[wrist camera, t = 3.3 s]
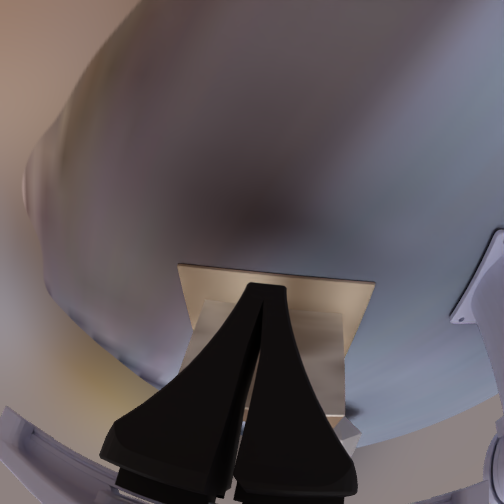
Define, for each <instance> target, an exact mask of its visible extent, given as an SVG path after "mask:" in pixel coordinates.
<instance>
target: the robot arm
mask: <svg viewBox="0 0 504 504" xmlns="http://www.w3.org/2000/svg"><path fill="white" fill-rule="evenodd" d="M450 321H451V323H453V324H472V323H477V325H478V327H479V330H480V333H481V335H482V338H483V341H484V344H485V347H486V350H487V353H488V356H489V359H490V362H491V366H492V369H493V372H494V376H495V379H496V383H497V387H498V391H499V395H500V400H501V404H502V409H503V413H504V230H498V231H497V232H496V233H495V234H494V236H493V238H492V240H491V243H490V245H489V247H488V249H487V251H486V253H485V255H484V258H483V260H482V262H481V264H480V266H479V267H478V269H477V271H476V273H475V275H474V277H473V279H472V281H471V282H470V284H469V286H468V288H467V290H466V291H465V293H464V295H463V296H462V298H461V300H460V302H459V303H458V305H457V306H456V308H455V310H454V311H453V313H452V314H451V316H450ZM259 352H260V356H259ZM258 356H259V362H258V367H257V372H256V377H255V382H254V387H253V392H252V396H251V401H250V406H249V410H248V414H247V419H246V423H245V427H244V432H243V436H242V440H241V444H240V448H239V452H238V456H237V459H236V455H237V449H238V444H239V437H240V433H241V427H242V422H243V416H244V411H245V405H246V400H247V396H248V392H249V389H250V385H251V381H252V378H253V374H254V371H255V367H256V363H257V360H258ZM496 429H497V434H496V435H495V436H494V438H493V439H492V441H491V443H490V445H489V447H488V450H487V453H486V457H485V462H484V469H483V481H482V482H479V483H477V484H474V485H472V486H469V487H466V488H463V489H459V490H456V491H452V492H449V493H446V494H443V495H439V496H436V497H432V498H431V499H427V500H423V501H419V502H415V503H410V504H489V502H490V504H504V415H503V416H502V417H501V418H500V419H499V420H497V421H496ZM99 456H100V458H101V459H104V460H106V461H108V462H110V463H112V464H114V465H116V466H119V467H120V469H119V472H115V471H113V470H111V469H108V468H106V467H104V466H102V465H100V464H98V463H96V462H94V461H92V460H90V459H88V458H86V457H84V456H82V455H81V454H79V453H76V452H75V451H73V450H71V449H69V448H68V447H66V446H64V445H63V444H61V443H60V442H58V441H56V440H54V438H53V437H51V436H50V435H48V434H47V433H45V432H43V431H42V430H41V429H39V428H38V427H36V426H35V425H33V424H32V423H30V422H28V421H27V420H25V419H24V418H23V417H21V416H20V415H19V414H17V413H16V412H15V411H13V410H12V409H11V408H9V407H8V406H5V409H4V411H3V413H2V415H1V417H0V461H1V462H2V463H3V464H4V465H5V466H6V467H7V468H8V469H9V470H10V471H11V472H12V473H13V474H14V475H15V476H16V477H17V478H18V480H19V481H20V482H21V483H22V484H23V485H24V486H25V487H26V488H27V489H28V490H29V491H30V492H31V493H32V494H33V495H34V496H35V497H36V498H37V499H38V500H39V501H40V502H41V503H42V504H149V503H146V502H144V501H142V500H138V499H136V498H133V497H129V496H125V495H122V494H120V493H119V491H118V489H119V490H121V491H124V492H126V493H128V494H131V495H133V496H136V497H138V498H141V499H144V500H147V501H149V502H152V503H155V504H216V503H215V500H216V497H218V498H222V499H224V496H225V492H226V491H227V490H228V489H230V488H231V484H232V478H233V476H234V477H235V479H236V480H237V486H236V490H235V494H234V500H235V501H239V502H242V504H344V497H346V496H352V495H355V494H356V493H357V489H358V484H357V475H356V470H355V467H354V463H353V461H352V459H351V457H350V456H349V454H348V453H347V451H346V450H345V448H344V447H343V445H342V443H341V442H340V440H339V439H338V437H337V435H336V433H335V432H334V430H333V428H332V426H331V425H330V423H329V421H328V419H327V417H326V415H325V413H324V411H323V409H322V407H321V405H320V403H319V401H318V399H317V397H316V395H315V392H314V390H313V388H312V385H311V383H310V381H309V378H308V376H307V373H306V371H305V368H304V365H303V362H302V359H301V356H300V353H299V350H298V347H297V344H296V340H295V336H294V333H293V329H292V325H291V320H290V315H289V310H288V303H287V288H286V287H285V286H284V285H274V284H265V283H255V282H250V283H248V284H247V286H246V288H245V290H244V292H243V294H242V295H241V297H240V299H239V301H238V302H237V304H236V305H235V307H234V309H233V310H232V312H231V313H230V315H229V316H228V317H227V319H226V320H225V322H224V323H223V325H222V326H221V327H220V329H219V330H218V331H217V333H216V334H215V335H214V336H213V338H212V339H211V340H210V341H209V343H208V344H207V345H206V346H205V347H204V348H203V350H202V351H201V352H200V353H199V354H198V355H197V356H196V357H195V358H194V359H193V360H192V361H191V363H190V364H189V365H188V366H187V367H186V368H184V369H183V370H182V371H181V372H180V373H179V374H178V375H177V376H176V377H175V378H174V379H173V380H172V381H170V382H169V383H168V384H167V385H166V386H165V387H163V388H162V389H161V390H160V391H158V392H157V393H156V394H154V395H153V396H152V397H151V398H149V399H148V400H147V401H145V402H144V403H143V404H141V405H140V406H138V407H137V408H135V409H134V410H132V411H130V412H129V413H128V414H126V415H124V416H123V417H121V418H119V419H118V420H116V421H115V422H114V424H113V425H112V427H111V429H110V430H109V432H108V434H107V436H106V438H105V441H104V444H103V446H102V449H101V451H100V454H99ZM235 461H236V463H235Z"/></svg>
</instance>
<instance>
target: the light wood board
mask: <svg viewBox="0 0 504 504" xmlns="http://www.w3.org/2000/svg"><path fill="white" fill-rule="evenodd" d="M177 267H178V271H179V276H180V280H181V284H182V289H183V293H184V297H185V301H186V305H187V309H188V313H189V317H190V320H191V324H192V328H193V331H194V329H195V326H196V323H197V321H198V318H199V315H200V312H201V310H202V307H203V304H204V302H205V299H206V300H213V301H221V302H229V303H237V302H238V301H239V299H240V297H241V295H242V294H243V292H244V290H245V288H246V286H247V284H248V283H250V282H255V283H265V284H274V285H284V286H285V287H286V288H287V303H288V309H292V310H303V311H315V312H327V313H341V314H342V323H343V340H344V358H345V356H346V354H347V351H348V349H349V347H350V345H351V343H352V341H353V338H354V336H355V334H356V331H357V329H358V327H359V324H360V322H361V320H362V317H363V315H364V312H365V310H366V308H367V305H368V303H369V300H370V297H371V295H372V292H373V290H374V287H375V282H363V281H350V280H338V279H327V278H316V277H305V276H294V275H283V274H273V273H263V272H253V271H243V270H233V269H224V268H214V267H205V266H196V265H187V264H178V265H177Z"/></svg>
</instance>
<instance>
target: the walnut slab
mask: <svg viewBox="0 0 504 504" xmlns="http://www.w3.org/2000/svg"><path fill="white" fill-rule="evenodd" d="M236 304H237V303H229V302H221V301H213V300H206V299H205V302H204V304H203V307H202V310H201V312H200V315H199V318H198V321H197V323H196V326H195V329H194V331H193V334H192V337H191V340H190V342H189V345H188V348H187V351H186V354H185V356H184V359H183V362H182V365H181V368H180V371H179V373H180V372H181V371H182V370H183V369H184V368H186V367H187V366H188V365H189V364H190V363H191V361H192V360H193V359H194V358H195V357H196V356H197V355H198V354H199V353H200V352H201V351H202V350H203V348H204V347H205V346H206V345H207V344H208V343H209V341H210V340H211V339H212V338H213V336H214V335H215V334H216V333H217V331H218V330H219V329H220V327H221V326H222V325H223V323H224V322H225V320H226V319H227V317H228V316H229V315H230V313H231V312H232V310H233V309H234V307H235V305H236ZM288 310H289V315H290V320H291V325H292V329H293V333H294V336H295V340H296V344H297V347H298V350H299V353H300V356H301V359H302V362H303V365H304V368H305V371H306V373H307V376H308V378H309V381H310V383H311V385H312V388H313V390H314V392H315V395H316V397H317V399H318V401H319V403H320V405H321V407H322V409H323V411H324V413H325V415H326V417H327V419H328V421H329V423H330V425H331V426H332V428H333V429H334V427H335V426H336V425H337V424H338V423H339V422H340V420H341V419H342V418H343V417H344V416H345V364H344V340H343V323H342V314H341V313H327V312H315V311H303V310H292V309H288ZM259 356H260V352H259ZM259 356H258V360H257V363H256V367H255V371H254V374H253V378H252V381H251V385H250V389H249V392H248V396H247V400H246V405H245V411H244V416H243V421H246V419H247V414H248V410H249V406H250V401H251V396H252V392H253V387H254V382H255V377H256V372H257V367H258V362H259ZM179 373H178V374H179Z"/></svg>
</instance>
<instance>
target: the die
mask: <svg viewBox="0 0 504 504" xmlns="http://www.w3.org/2000/svg"><path fill="white" fill-rule="evenodd" d="M333 430H334V432H335V433H336V435H337V437H338V439H339V440H340V442H341V443H342V445H343V447H344V448H345V450H346V451H347V453H348V454H349V456H350V457H352V454H353V452H354V450H355V448H356V446H357V443H358V441H359V439H360V436H361V434H362V433H361V432H360V431H359V430H358V429H357V428H356V427H355V426H354V425H353V424H352V423H351V422H350V421H349V420H348V419H347V418H346V417H345V416H344V417H343V418H342V419H341V420H340V422H339V423H338V424H337V425H336V426H335V427H334V429H333Z"/></svg>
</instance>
